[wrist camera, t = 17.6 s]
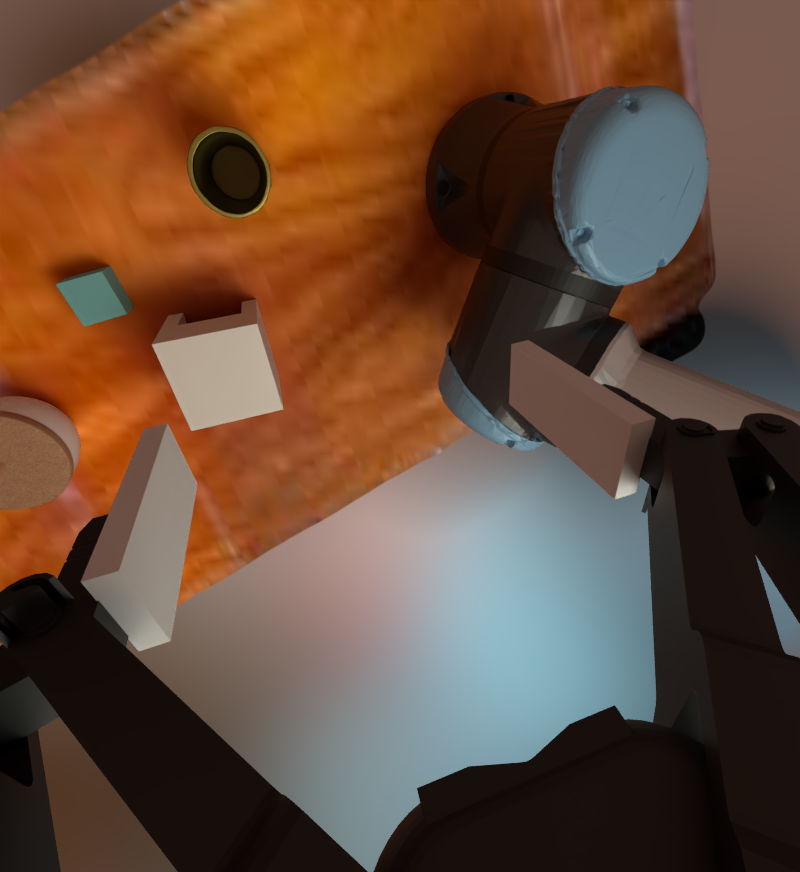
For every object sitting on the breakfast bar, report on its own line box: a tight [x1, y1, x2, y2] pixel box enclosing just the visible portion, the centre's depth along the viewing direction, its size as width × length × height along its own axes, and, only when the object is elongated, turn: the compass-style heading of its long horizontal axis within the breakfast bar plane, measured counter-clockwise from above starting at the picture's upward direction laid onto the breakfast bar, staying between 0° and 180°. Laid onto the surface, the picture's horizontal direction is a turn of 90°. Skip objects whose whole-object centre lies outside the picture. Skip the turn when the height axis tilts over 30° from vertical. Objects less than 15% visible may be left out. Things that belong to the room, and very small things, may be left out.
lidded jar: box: [0, 396, 81, 510], centre depth 42 cm, size 11×11×9 cm
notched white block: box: [152, 299, 283, 431], centre depth 44 cm, size 9×9×9 cm
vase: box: [187, 126, 271, 218], centre depth 34 cm, size 6×6×14 cm
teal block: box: [56, 266, 134, 327], centre depth 40 cm, size 4×4×3 cm
